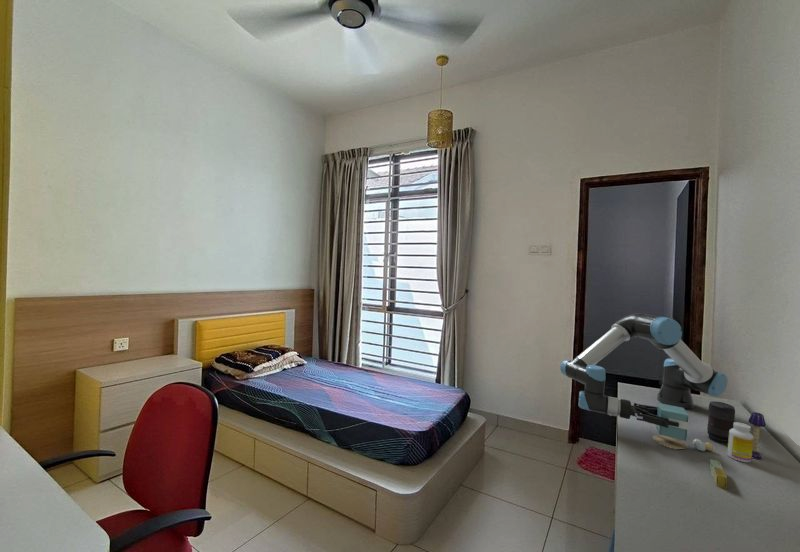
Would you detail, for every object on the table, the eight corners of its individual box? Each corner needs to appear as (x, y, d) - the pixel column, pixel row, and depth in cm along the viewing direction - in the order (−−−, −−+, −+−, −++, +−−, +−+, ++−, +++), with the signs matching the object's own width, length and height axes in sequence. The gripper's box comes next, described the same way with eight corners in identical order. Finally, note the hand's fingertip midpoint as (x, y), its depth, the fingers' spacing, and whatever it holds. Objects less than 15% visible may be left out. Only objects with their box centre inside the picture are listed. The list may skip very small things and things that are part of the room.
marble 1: (693, 444, 143) (694, 436, 143) (703, 447, 141) (704, 440, 141) (691, 446, 142) (692, 438, 141) (701, 449, 139) (701, 442, 139)
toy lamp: (764, 461, 133) (768, 417, 132) (747, 457, 135) (751, 414, 134) (759, 455, 137) (763, 412, 136) (743, 451, 139) (747, 409, 138)
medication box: (708, 469, 126) (709, 458, 126) (719, 471, 125) (719, 460, 124) (716, 486, 116) (717, 474, 116) (727, 489, 114) (728, 477, 114)
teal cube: (655, 426, 149) (657, 402, 149) (681, 431, 145) (683, 407, 145) (659, 434, 142) (661, 409, 141) (686, 440, 138) (688, 415, 137)
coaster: (658, 433, 151) (658, 432, 151) (691, 444, 143) (691, 443, 143) (649, 440, 145) (649, 439, 144) (682, 453, 136) (682, 451, 136)
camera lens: (700, 434, 152) (704, 400, 151) (720, 436, 152) (723, 401, 151) (717, 444, 144) (720, 408, 143) (737, 446, 144) (741, 409, 143)
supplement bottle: (756, 464, 130) (759, 430, 129) (735, 461, 131) (738, 427, 131) (742, 454, 137) (745, 422, 136) (722, 452, 138) (725, 419, 137)
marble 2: (696, 447, 140) (697, 440, 140) (706, 451, 138) (707, 443, 138) (694, 450, 139) (695, 442, 138) (704, 453, 136) (705, 445, 136)
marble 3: (703, 447, 141) (704, 440, 141) (713, 451, 139) (714, 443, 138) (701, 449, 139) (702, 442, 139) (711, 453, 137) (712, 445, 137)
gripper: (617, 407, 161) (679, 420, 150) (620, 426, 142) (692, 442, 132) (618, 391, 161) (681, 403, 150) (621, 407, 142) (694, 422, 131)
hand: (686, 421), depth 141 cm, fingers closed on teal cube, 8 cm apart
